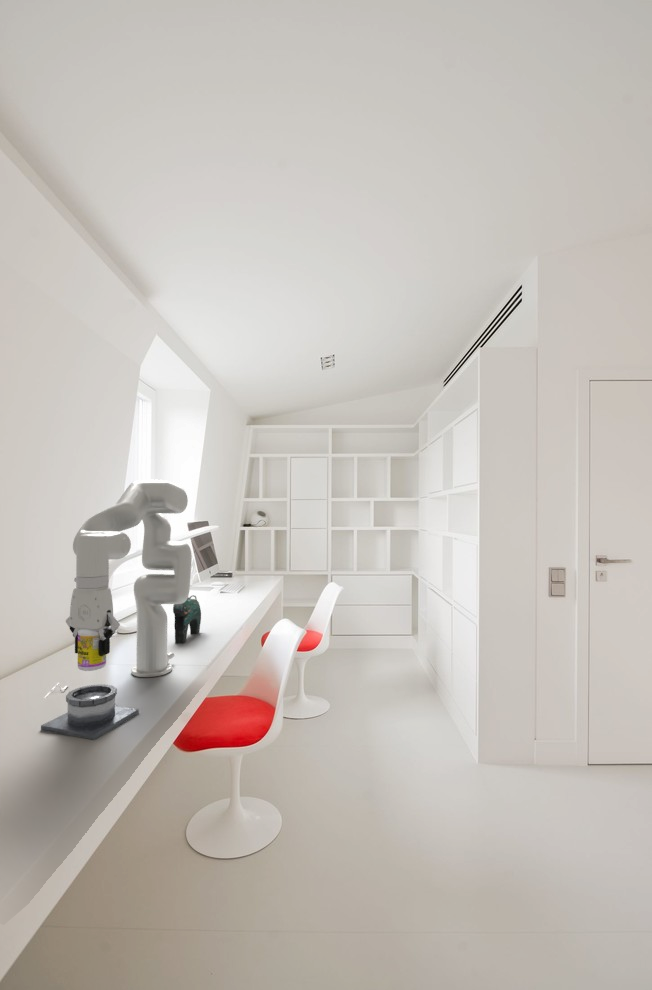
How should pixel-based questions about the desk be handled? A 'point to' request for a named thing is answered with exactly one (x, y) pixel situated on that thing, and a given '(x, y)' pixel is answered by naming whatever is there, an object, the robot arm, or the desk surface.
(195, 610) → the green elephant figurine
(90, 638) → the supplement bottle
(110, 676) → the desk surface
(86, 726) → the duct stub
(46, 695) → the picture light
